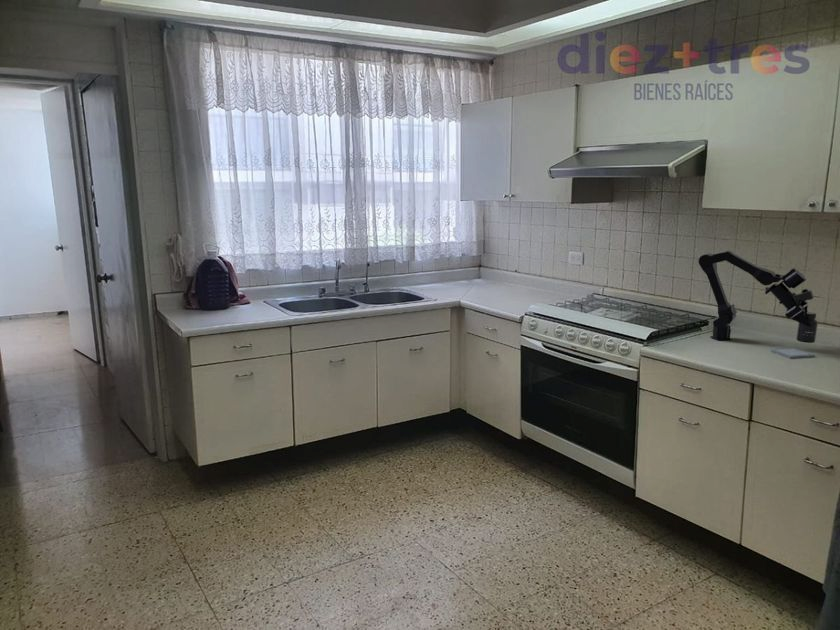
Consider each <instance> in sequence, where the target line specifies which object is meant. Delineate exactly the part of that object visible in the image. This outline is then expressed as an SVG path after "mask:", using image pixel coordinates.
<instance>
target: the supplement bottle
mask: <svg viewBox="0 0 840 630" xmlns="http://www.w3.org/2000/svg"><path fill="white" fill-rule="evenodd" d="M804 315H805V316H806V318H807V319H808V320H809V322H810V324H811V326H810V327H808V326H806V325H804V324H802V323H799V322H798V323H797V331H796V337H795V338H796V341H798V342H801V343H806V344H807V343H808V344H813V343H815V342H816V338H817V330H818V325H819V322H818V320H817V313H816V312H811V311H808V312H804Z"/></svg>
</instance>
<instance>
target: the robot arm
mask: <svg viewBox="0 0 840 630" xmlns="http://www.w3.org/2000/svg"><path fill="white" fill-rule="evenodd" d="M697 261H698V265H699V266H700V269H701V270H702V271H703V273H704V274H705V275H706V276H707V278H708V279H707V280H708V282H709V285H710V288H711V290H712V293H713V295H714V298H715V302H716V304H717V314H718V318H716V319H714V320H713V322H712V324H713V325H712V326H713V327H712V335H710V338H711V339H713V340H717V341H732V338H731V331H732V329H731V325H730V324H731V323H732V322H733V321H734V320H736V318H737V313H738V311H737V310H736V307H735V304H734V303H732V304H730V302H729V301H728V298H727V295H726V292H725V290H724V288H723V285H722V281H721V280H720V276H719V273H718V264H717V263H721V262H725V261H726V262H727V263H730V264H731V265H733V266H735V267H736V268H739V269H741V270H742V271H744V272H745V273H747V274H750V276H752V277H753V278H754V279H755V280H756V281H757V282H759V283H760V284H761V285H762V286H765V292H764V294H765V295H767V294H769V293H770V292H771V294H772V295H773V296H774V297H775V298H776V299H777V300H778V303H779V304H780V305H782V306H783V307H784V308H785V309H786V312H785V317H786V318H787V319H788V320H789V319H790V320H793V321H795V322H799V323H802V324H804V325H806V326H808V327H810V326H811V324H810V322H809V320H808V319H807V318H806V316H805V315H804V312H809V311H808V308H809V302H808V301H810V300H813V299H814V298H815V297H814V294H813V291H812V290H811V289H808V288H804V289H802V291H801V292H800V293H798V294H797V293H796V292H792V291H791V290H790V289H791V288H792V289H795V288H797V287H799V286H800V285H801V284H802V283H805V281H807V278H806V276H804V275H803V273H802V272H800V271H799V270H798V269H796V268H795V267H793V268H791V269H790V271H788V272H787V273H786V274H778V273H776V272H775V271H773V270H771V269H769V268H768V269H767V268H765V267H761V266H758V265H756V264H754V263H752V262H750V261H748V260H746V259H744V258H743V257H741V256H739V255H738V254H735V253H734V252H733V251H731V250H726V251H723V252H719V253H715V254H712V253H711V252H710V253H705V254H701V256H699V258H698V260H697ZM780 281H781V282H780ZM770 285H771V286H770ZM768 286H769V287H768Z"/></svg>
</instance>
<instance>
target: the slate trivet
mask: <svg viewBox="0 0 840 630" xmlns="http://www.w3.org/2000/svg"><path fill="white" fill-rule="evenodd" d="M770 352H772V353H773V352H774V353H773V354H776V353H777V355H779V356H782V357H784V356H785V358H788V359H790V360H791V359H803V358H805V359H806V358H815V357H816V355H815V354H812V353H810V352H808V351H804V350H801V349H798V348H796V347H795V348H794V347H791V348H775V349H770Z"/></svg>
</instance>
